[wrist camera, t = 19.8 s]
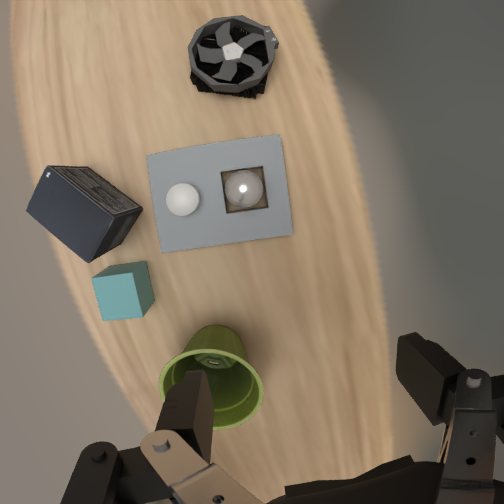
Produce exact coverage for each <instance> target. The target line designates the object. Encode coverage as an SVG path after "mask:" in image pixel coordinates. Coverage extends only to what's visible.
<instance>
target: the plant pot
mask: <svg viewBox="0 0 504 504" xmlns="http://www.w3.org/2000/svg"><path fill="white" fill-rule="evenodd" d="M204 359H205V360H204ZM202 360H204V361H202ZM200 361H202V362H200ZM209 361H213V362H218V363H219V364H218V365H214V364H210V363H209ZM197 370H204V371H205V373H206V376H207V380H208V384H209V388H210V392H211V396H212V400H213V405H214V421H213V430H222V429H228V428H233V427H236V426H238V425H240V424H243V423H244V422H246V421H248V420H249V419H250V418H252V417H253V416H254V415H255V413H256V412H257V411H258V410H259V408H260V406H261V404H262V401H263V396H264V390H263V384H262V381H261V378H260V376H259V375H258V373H257V372H256V370H255V369H254V368H253V367H252V366H251V365H250V364H249V363H248V360H247V357H246V354H245V351H244V348H243V346H242V343H241V340H240V338H239V337H238V336H237V335H236V334H235V333H234V332H233V331H232V330H231V329H229V328H226V327H224V326H219V325H212V326H207V327H204V328H203V329H201V330H200V331H198V332H197V333H196V334H195V335H194V337H193V338H192V340H191V341H190V342H189V344H188V345H187V347H186V348H185V349H184V351H183V352H182V353H181V354H179V355H178V356H176V357H174V358H173V359H172V360H171V361H169V362H168V363H167V365H166V366H165V367H164V369H163V370H162V372H161V375H160V378H159V392H160V395H161V398H162V400H163V402H165V397H166V394H167V392H168V390H169V389H170V388H171V387H172V386H173V385H174V384H182V383H183V379H184V375H185V372H186V371H197Z"/></svg>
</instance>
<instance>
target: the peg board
mask: <svg viewBox="0 0 504 504" xmlns="http://www.w3.org/2000/svg"><path fill="white" fill-rule="evenodd" d="M146 157H147V165H148V172H149V180H150V187H151V194H152V200H153V206H154V213H155V219H156V225H157V231H158V236H159V242H160V247H161V253H167V252H174V251H181V250H188V249H194V248H201V247H208V246H215V245H222V244H229V243H236V242H243V241H250V240H257V239H264V238H271V237H278V236H286V235H293V228H292V220H291V211H290V203H289V195H288V188H287V180H286V172H285V165H284V158H283V151H282V144H281V137H280V134H279V135H270V136H261V137H253V138H245V139H237V140H230V141H223V142H217V143H210V144H204V145H198V146H192V147H187V148H181V149H176V150H171V151H165V152H160V153H155V154H151V155H146ZM260 167H261V169H262V176H263V183H264V191H265V198H266V207H259V208H252V209H245V210H238V211H231V212H227V207H226V200H225V193H224V186H223V179H222V173H224V172H231V171H238V170H245V169H252V168H260Z"/></svg>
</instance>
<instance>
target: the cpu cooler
mask: <svg viewBox="0 0 504 504" xmlns="http://www.w3.org/2000/svg"><path fill="white" fill-rule="evenodd" d="M236 27H237V28H236ZM241 28H242V30H241ZM243 30H244V32H243ZM246 31H247V34H246ZM278 44H279V42H278V40H277V38H276V36H275V35H274V33H273V31H272V30H271V28H270V26H263V25H261V24H259V23H257V22H255V21H253V20H251V19H249V18H247V17H245V16H243V15H241V16H231V17H222V18H214V19H212V20H211V21H209V22H208V23H206V24H205V25H203V26H202V27H200V28H199V29H197V30H196V32H195V34H194V36H193V38H192V40H191V42H190V44H189V46H188V53H189V59H190V65H191V76H190V79H191V81H192V83H193V85H196V87H197V89H198V91H202V92H203V91H204V92H210V93H211V92H213V93H214V91H215V92H216V93H217V94H218V93H219V94H220V93H224V95H226V93H228V92H229V94H230V95H231V94H232V96H234V93H235V95H236V96H237V95H238V97H240V96H239V93H240V95H242V97H244V98H246V95H245V94H247V95H248V97H249V98H250V94H249V91H250V93H252V94H253V96H254V97H255V98H256V95H254V93H253V91H252V89H251V88H253V89H254V91H255V92H256V93H260V94H263V93H264V90H265V85H266V80H267V74H268V71H269V70H270V68H271V65H272V63H273V60H274V49H277V48H278ZM247 89H248V90H249V91H248V93H247ZM243 91H244V92H245V93H244V96H243ZM251 98H252V97H251Z"/></svg>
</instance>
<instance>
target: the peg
mask: <svg viewBox="0 0 504 504" xmlns="http://www.w3.org/2000/svg"><path fill="white" fill-rule="evenodd" d="M225 193H226V196H227V198H228V200H229V201H230V202H231V203H232V204H233V205H235V206H237V207H240V208H248V207H251V206H253V205H255V204H256V203H257V202H258V201H259V200H260V198H261V196H262V193H263V185H262V182H261V180H260V178H259V177H258V176H257V175H256V174H255V173H253V172H251V171H248V170H240V171H237V172H235V173H233V174H232V175H231V176H230V177H229V178H228V180H227V182H226V185H225Z"/></svg>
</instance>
